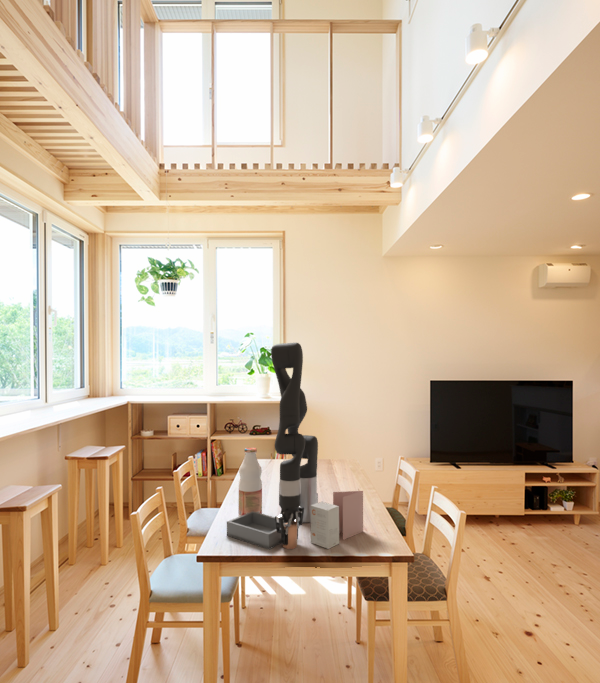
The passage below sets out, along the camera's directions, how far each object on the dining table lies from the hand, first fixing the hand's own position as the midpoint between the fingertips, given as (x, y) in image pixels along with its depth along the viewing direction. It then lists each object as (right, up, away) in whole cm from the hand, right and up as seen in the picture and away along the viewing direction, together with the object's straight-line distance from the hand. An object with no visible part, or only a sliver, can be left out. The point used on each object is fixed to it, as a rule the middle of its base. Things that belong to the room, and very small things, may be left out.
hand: (289, 541), depth 155 cm
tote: (-11, -2, +9) cm, 14 cm away
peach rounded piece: (0, -1, 0) cm, 1 cm away
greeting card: (+22, -2, +9) cm, 24 cm away
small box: (+12, -2, +2) cm, 12 cm away
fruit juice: (-17, -3, +26) cm, 31 cm away
